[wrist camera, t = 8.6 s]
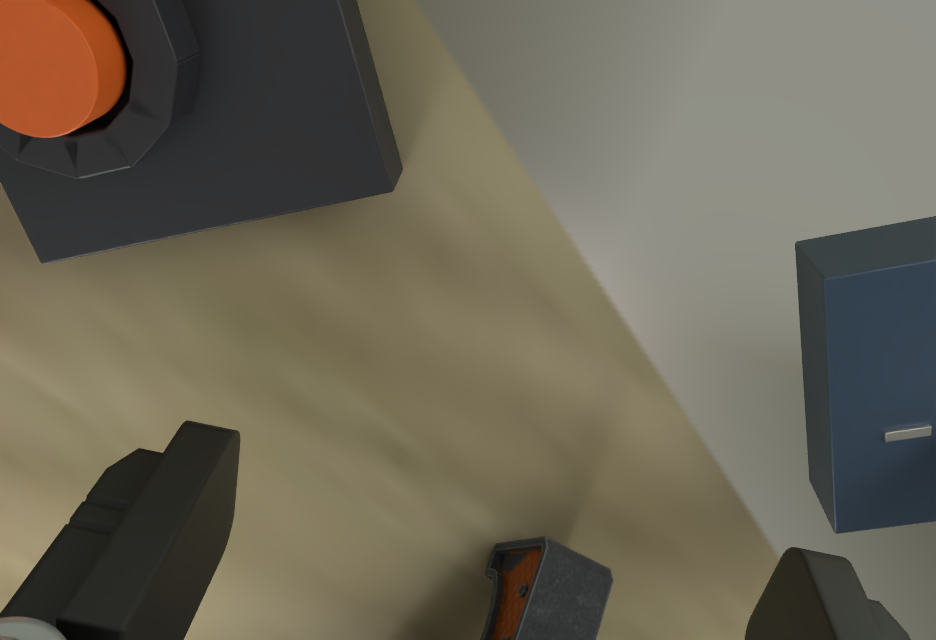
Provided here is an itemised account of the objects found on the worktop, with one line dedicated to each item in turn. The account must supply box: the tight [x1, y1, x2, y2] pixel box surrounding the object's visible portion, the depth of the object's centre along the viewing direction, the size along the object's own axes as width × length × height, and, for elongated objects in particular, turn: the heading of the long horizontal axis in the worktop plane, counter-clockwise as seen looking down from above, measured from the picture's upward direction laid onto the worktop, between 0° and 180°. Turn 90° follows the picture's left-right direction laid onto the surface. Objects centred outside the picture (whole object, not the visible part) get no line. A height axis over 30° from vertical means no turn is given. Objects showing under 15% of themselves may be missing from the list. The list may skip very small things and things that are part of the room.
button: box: [0, 0, 127, 138], centre depth 22 cm, size 4×4×2 cm
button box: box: [0, 0, 403, 264], centre depth 24 cm, size 9×12×4 cm
